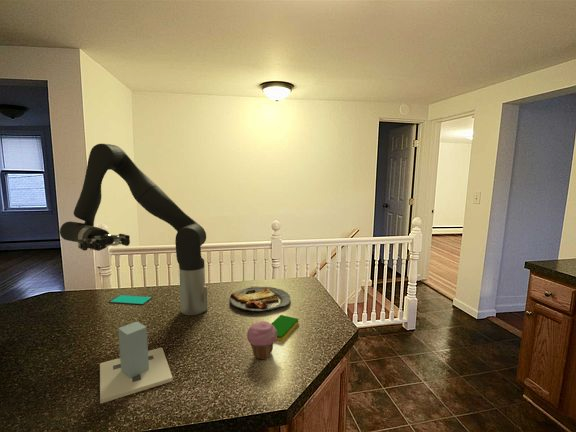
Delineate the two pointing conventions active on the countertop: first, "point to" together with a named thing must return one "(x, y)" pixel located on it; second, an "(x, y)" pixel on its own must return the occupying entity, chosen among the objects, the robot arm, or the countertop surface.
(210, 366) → the countertop surface
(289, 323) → the dish sponge
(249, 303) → the food plate
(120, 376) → the board
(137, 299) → the smartphone
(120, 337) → the grey rectangular block
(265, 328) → the cupcake
